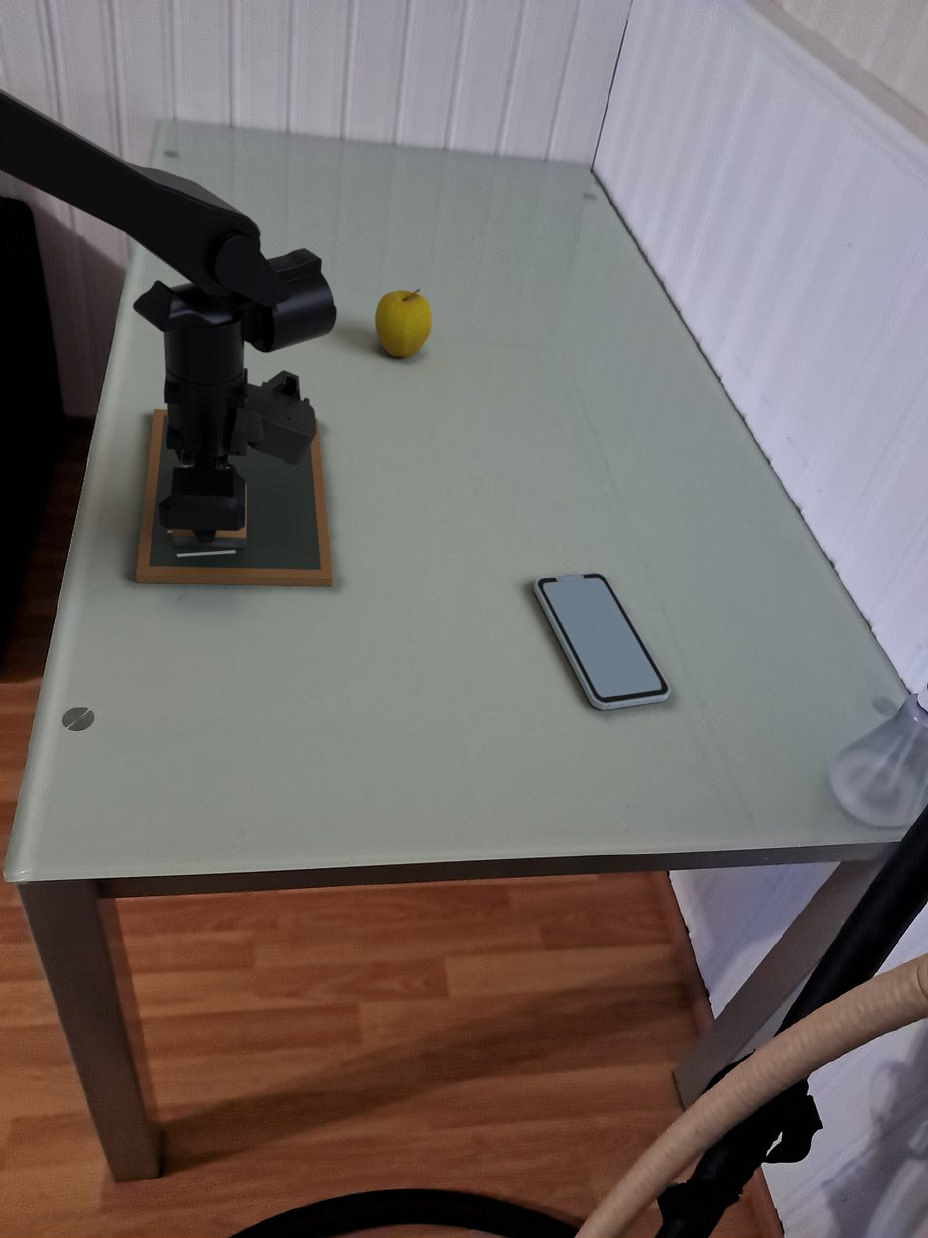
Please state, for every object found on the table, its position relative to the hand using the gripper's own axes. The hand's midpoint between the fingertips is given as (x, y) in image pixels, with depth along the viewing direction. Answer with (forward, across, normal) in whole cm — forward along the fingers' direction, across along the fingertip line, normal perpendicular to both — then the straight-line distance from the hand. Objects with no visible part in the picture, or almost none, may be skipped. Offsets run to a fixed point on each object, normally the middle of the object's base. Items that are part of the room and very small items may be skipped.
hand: (207, 525), depth 82 cm
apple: (+2, +35, -21) cm, 41 cm away
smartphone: (+2, -12, -33) cm, 35 cm away
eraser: (+1, 0, 0) cm, 1 cm away
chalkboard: (+2, +7, -2) cm, 7 cm away
